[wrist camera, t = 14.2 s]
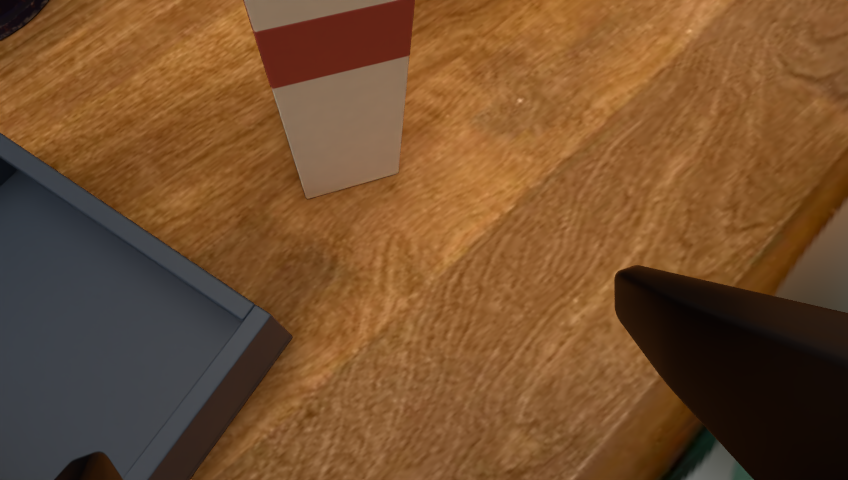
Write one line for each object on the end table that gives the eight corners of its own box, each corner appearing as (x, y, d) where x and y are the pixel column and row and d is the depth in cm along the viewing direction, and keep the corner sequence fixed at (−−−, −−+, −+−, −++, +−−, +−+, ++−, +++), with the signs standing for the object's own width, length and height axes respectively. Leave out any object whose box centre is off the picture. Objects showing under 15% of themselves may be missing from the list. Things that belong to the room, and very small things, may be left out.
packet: (399, 173, 23) (423, -68, 12) (306, 200, 22) (233, -30, 11) (363, 76, 24) (352, -226, 13) (274, 98, 24) (180, -202, 12)
